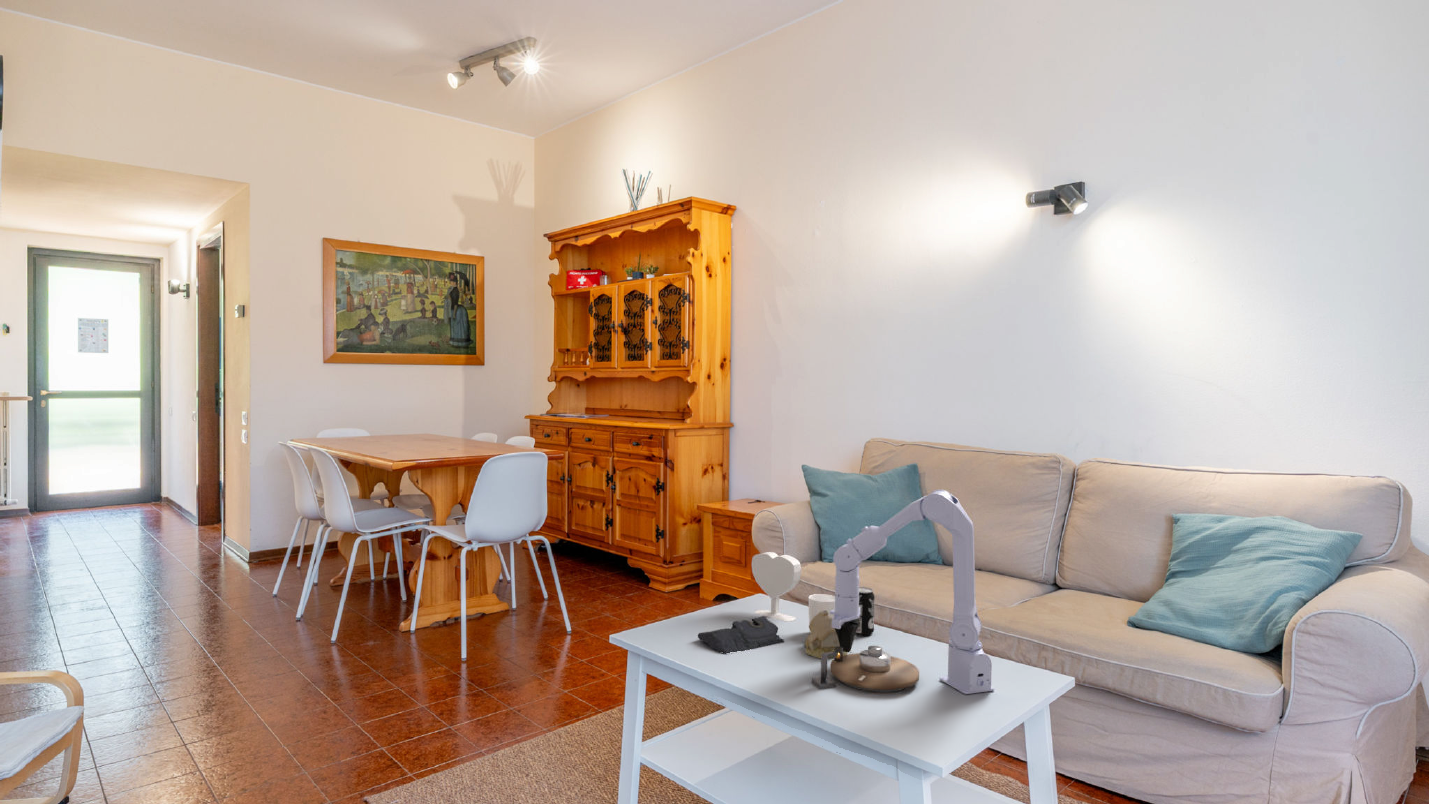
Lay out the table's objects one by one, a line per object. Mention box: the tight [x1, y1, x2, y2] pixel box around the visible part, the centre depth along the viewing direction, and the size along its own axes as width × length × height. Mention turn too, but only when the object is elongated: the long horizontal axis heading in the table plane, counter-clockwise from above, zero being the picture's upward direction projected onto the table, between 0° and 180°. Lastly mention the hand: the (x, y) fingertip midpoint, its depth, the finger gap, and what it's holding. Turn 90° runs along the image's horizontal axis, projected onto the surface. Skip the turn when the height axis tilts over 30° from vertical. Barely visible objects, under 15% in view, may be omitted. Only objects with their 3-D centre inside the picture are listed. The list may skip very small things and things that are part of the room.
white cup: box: [807, 593, 835, 634], centre depth 211 cm, size 8×8×10 cm
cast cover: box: [859, 645, 892, 673], centre depth 179 cm, size 7×7×5 cm
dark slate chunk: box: [697, 615, 785, 655], centre depth 205 cm, size 15×22×5 cm
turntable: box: [829, 646, 920, 690], centre depth 179 cm, size 20×20×4 cm
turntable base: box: [841, 681, 906, 693], centre depth 179 cm, size 16×16×1 cm
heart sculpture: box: [751, 551, 802, 622], centre depth 228 cm, size 16×5×18 cm, turn 49°
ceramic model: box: [804, 611, 849, 659], centre depth 199 cm, size 14×11×10 cm
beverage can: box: [855, 586, 876, 637], centre depth 213 cm, size 7×7×12 cm
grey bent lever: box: [811, 652, 840, 690], centre depth 175 cm, size 4×6×7 cm, turn 110°
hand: (845, 651), depth 187 cm, fingers closed
